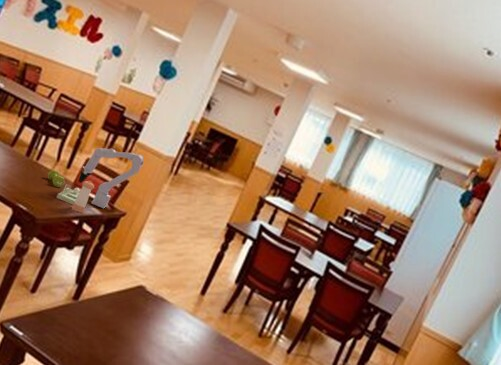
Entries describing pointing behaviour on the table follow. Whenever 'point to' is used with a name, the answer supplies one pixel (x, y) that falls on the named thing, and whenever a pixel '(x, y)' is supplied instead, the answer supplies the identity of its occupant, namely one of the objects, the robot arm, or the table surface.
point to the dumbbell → (56, 178)
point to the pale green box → (67, 195)
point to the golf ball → (76, 190)
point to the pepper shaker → (83, 196)
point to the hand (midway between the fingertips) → (80, 181)
